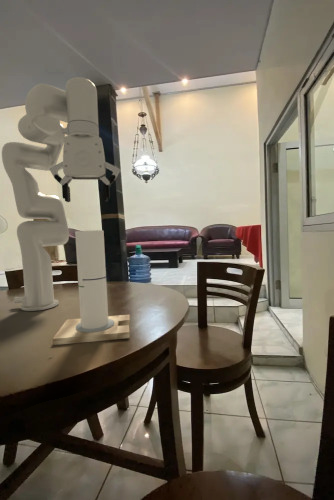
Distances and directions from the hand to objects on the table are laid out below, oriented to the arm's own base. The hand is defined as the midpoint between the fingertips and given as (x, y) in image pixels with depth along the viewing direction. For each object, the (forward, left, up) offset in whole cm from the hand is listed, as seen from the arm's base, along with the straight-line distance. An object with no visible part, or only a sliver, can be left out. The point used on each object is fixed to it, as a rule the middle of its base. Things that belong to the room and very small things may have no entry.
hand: (86, 201), depth 68 cm
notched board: (0, 0, -35) cm, 35 cm away
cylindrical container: (0, 0, -33) cm, 33 cm away
